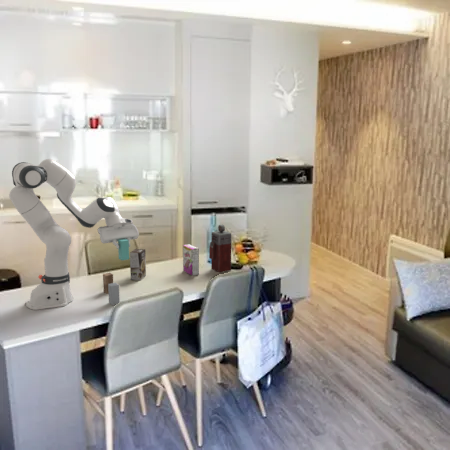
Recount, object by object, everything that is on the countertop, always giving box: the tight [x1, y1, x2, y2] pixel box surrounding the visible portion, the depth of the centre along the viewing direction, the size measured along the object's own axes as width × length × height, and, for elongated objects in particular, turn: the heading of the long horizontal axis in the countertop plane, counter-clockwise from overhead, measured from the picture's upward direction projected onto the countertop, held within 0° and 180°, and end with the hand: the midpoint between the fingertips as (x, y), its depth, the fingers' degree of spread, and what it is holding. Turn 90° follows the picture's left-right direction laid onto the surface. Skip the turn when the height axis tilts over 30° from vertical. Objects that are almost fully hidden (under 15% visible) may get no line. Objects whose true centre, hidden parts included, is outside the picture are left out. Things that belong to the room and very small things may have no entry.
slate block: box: [108, 282, 121, 306], centre depth 256 cm, size 4×4×10 cm
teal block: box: [117, 239, 130, 261], centre depth 262 cm, size 4×4×10 cm
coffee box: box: [129, 248, 147, 281], centre depth 296 cm, size 9×6×16 cm
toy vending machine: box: [208, 224, 232, 273], centre depth 311 cm, size 9×11×28 cm
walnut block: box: [102, 272, 114, 295], centre depth 272 cm, size 4×4×10 cm
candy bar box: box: [182, 243, 200, 277], centre depth 305 cm, size 11×5×16 cm, turn 34°
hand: (124, 247), depth 262 cm, fingers closed on teal block, 4 cm apart
